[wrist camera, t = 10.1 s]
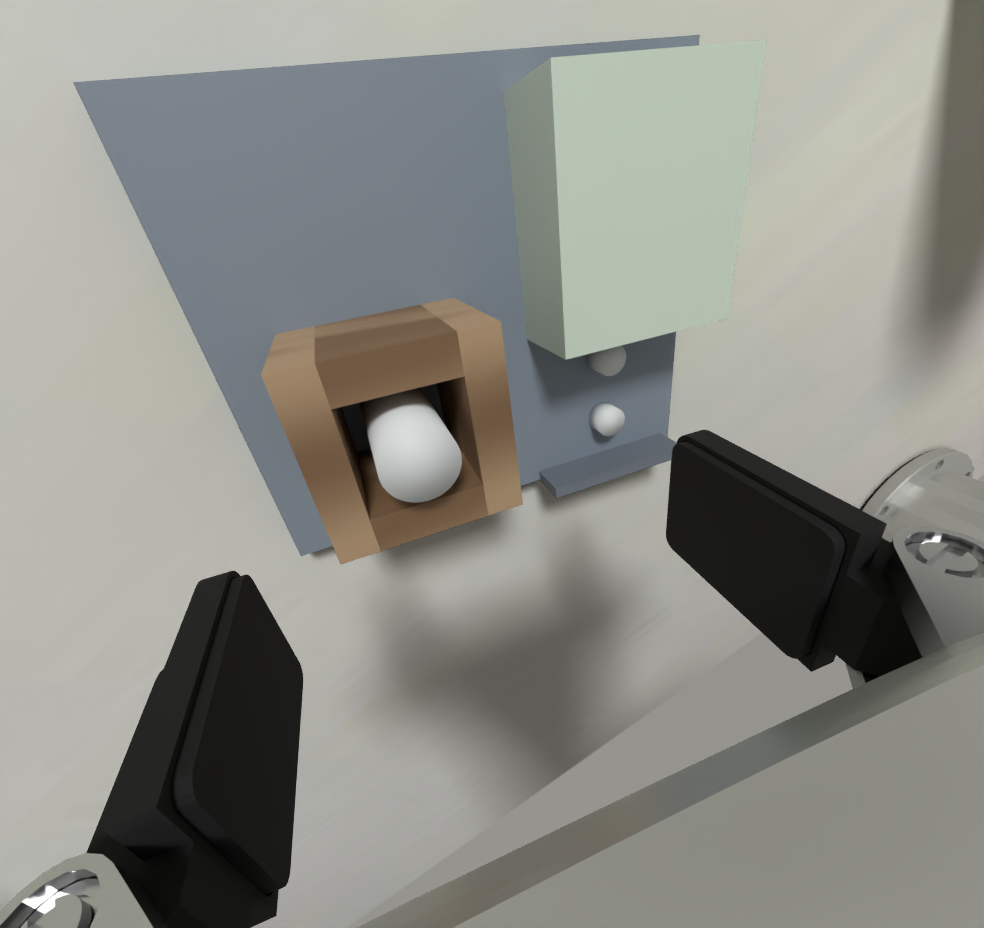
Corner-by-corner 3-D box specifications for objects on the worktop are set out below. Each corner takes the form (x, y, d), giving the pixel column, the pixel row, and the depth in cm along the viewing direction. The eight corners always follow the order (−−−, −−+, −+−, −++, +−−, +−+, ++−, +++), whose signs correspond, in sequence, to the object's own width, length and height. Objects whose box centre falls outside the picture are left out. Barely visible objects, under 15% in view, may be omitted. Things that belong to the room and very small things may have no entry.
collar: (478, 446, 20) (522, 504, 16) (334, 488, 18) (340, 564, 14) (453, 297, 16) (500, 321, 12) (275, 334, 15) (260, 374, 11)
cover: (668, 305, 20) (727, 318, 17) (526, 339, 18) (565, 359, 15) (685, 73, 16) (766, 39, 13) (503, 91, 14) (550, 57, 11)
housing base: (653, 430, 24) (762, 495, 18) (301, 539, 20) (296, 671, 14) (676, 46, 16) (885, -59, 10) (93, 94, 12) (-126, -37, 6)
